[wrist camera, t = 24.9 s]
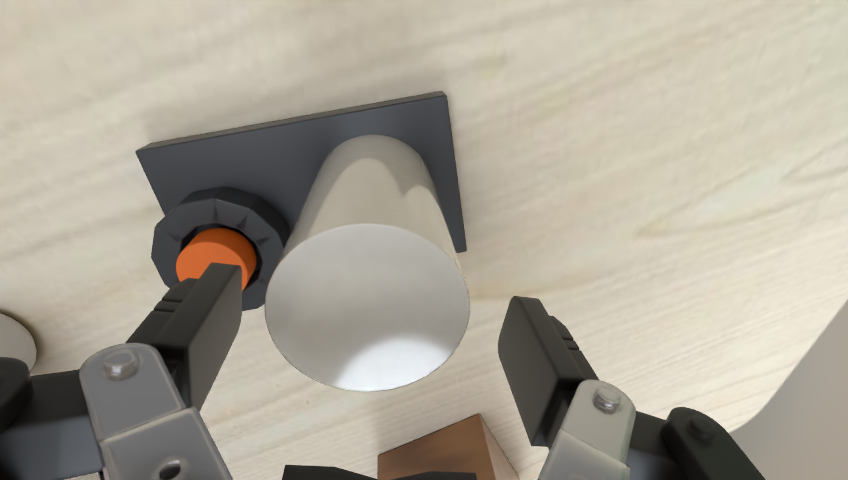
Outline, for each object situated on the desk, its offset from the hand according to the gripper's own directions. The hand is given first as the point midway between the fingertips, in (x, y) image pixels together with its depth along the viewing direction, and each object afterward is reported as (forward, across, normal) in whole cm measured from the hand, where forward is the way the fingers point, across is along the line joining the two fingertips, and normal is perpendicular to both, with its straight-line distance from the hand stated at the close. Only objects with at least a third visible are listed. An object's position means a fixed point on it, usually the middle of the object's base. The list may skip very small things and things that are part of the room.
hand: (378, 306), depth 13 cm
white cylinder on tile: (+9, 0, 0) cm, 9 cm away
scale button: (+8, +7, +3) cm, 11 cm away
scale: (+10, +3, +1) cm, 11 cm away
